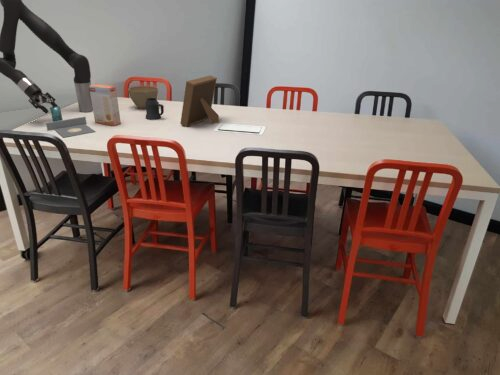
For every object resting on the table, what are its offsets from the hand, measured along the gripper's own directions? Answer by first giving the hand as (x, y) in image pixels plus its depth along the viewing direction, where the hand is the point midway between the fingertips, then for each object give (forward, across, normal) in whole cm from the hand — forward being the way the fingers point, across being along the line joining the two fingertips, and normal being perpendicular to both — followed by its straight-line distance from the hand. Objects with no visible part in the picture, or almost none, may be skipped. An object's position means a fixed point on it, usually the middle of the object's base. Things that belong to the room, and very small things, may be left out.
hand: (52, 110), depth 206 cm
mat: (+18, -10, -8) cm, 22 cm away
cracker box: (+25, +7, -14) cm, 30 cm away
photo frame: (+61, +21, -51) cm, 82 cm away
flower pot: (+28, +45, -18) cm, 56 cm away
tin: (+6, 0, +4) cm, 7 cm away
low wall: (+13, -5, -2) cm, 14 cm away
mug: (+40, +24, -29) cm, 55 cm away
